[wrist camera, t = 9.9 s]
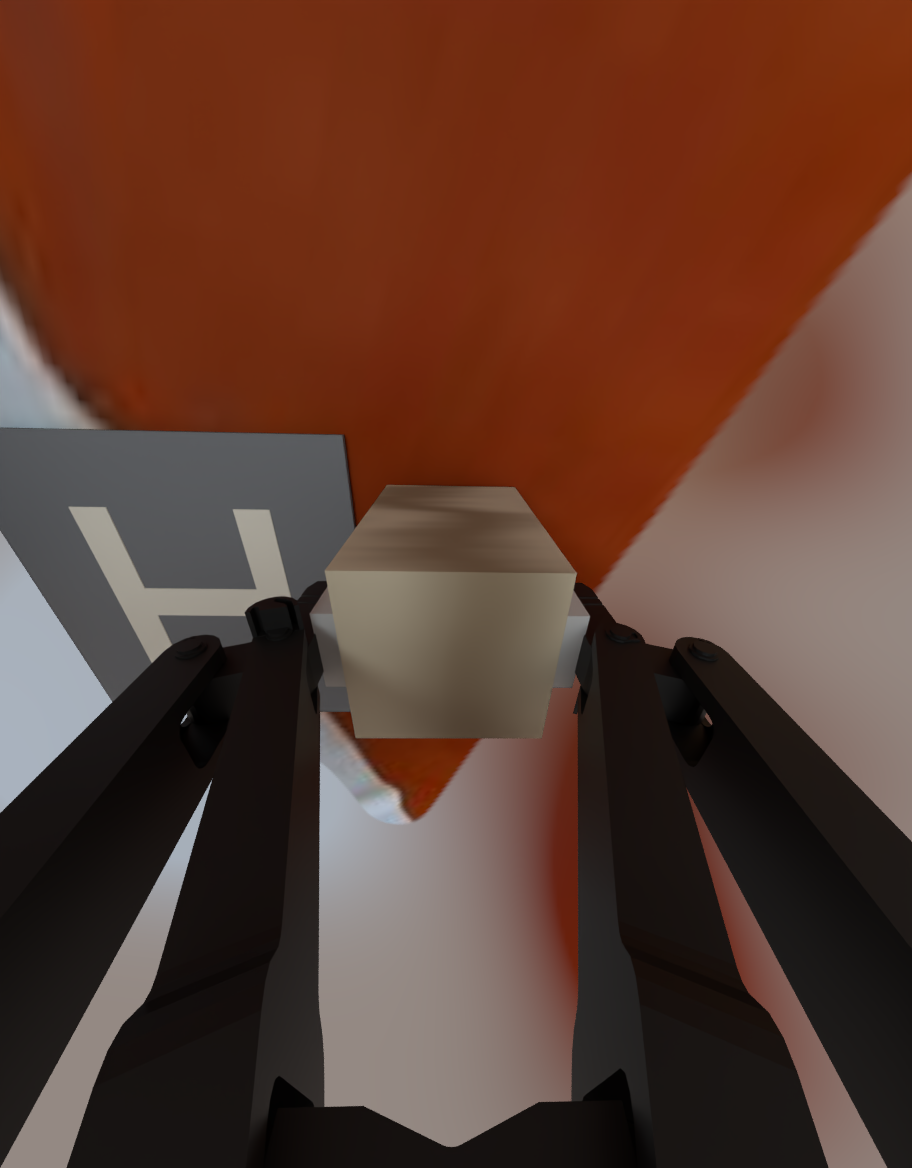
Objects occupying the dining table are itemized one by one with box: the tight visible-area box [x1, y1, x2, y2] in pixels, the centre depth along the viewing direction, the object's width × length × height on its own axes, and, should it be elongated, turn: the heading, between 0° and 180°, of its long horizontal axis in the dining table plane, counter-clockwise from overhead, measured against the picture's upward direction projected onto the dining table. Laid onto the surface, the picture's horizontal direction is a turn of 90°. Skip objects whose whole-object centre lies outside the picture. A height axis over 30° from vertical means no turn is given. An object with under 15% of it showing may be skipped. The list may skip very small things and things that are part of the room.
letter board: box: [0, 428, 356, 712], centre depth 20 cm, size 18×18×1 cm
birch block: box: [325, 485, 577, 738], centre depth 13 cm, size 6×6×9 cm
